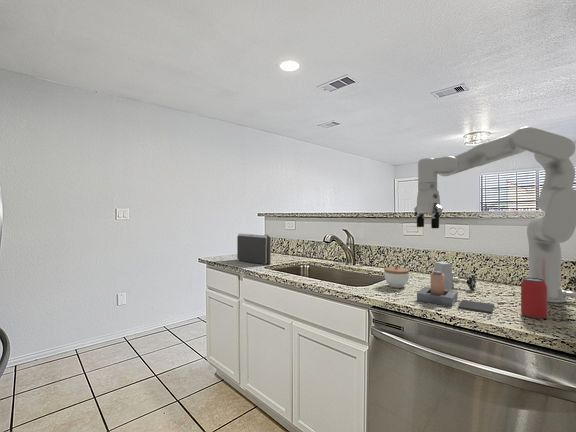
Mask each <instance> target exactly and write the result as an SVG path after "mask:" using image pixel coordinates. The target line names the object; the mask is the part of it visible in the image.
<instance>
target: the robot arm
mask: <svg viewBox="0 0 576 432" xmlns="http://www.w3.org/2000/svg"><path fill="white" fill-rule="evenodd" d="M575 151H576V144H575V142H574V141H573V140H572V139H570V138H568V137H566V136H563V135H560V134H556V133H553V132H549V131H546V130H543V129H540V128H536V127H532V126H524V127H523V126H522V127H520V128H518V129H516V130H514V132H511V133H508V134H506V135H503V136H499V137H497V138H495V139H491V140H487V141H485V142H482V143H479V144H477V145H475V146H473V147H472V148H470V149H468V150H467V151H464V152H462V153H460V154H457V155H454V156H452V155H447V156H442V157H426V158H421V159H419V160H418V163H417V196H416V197H417V198H416V206H415V207H414V208H413V210H414V215H415V218H416V228H424V227H425V218H424V216H425V215H430V216H431V221H430V223H431V225H430V227H431V229H439V228H440V218H441V216H442V212H443V209H444V207H442V206H441V199H440V198H441V197H440V192H439V190H438V175H440V176H441V177H449V176H452V175H455V174H459V173H461V172H465V171H468V170H470V169H475V168H478V167H482V166H484V165H488V164H491V163H493V162H496V161H499V160H503V159H506V158H509V157H513V156H516V155H519V154H521V153H523V152H530V153H531V154H533V156H534V159H535V161H536V162H537V163H538V164H540V166H541V167H542V168H543V170H544V174H545V176H544V182H543V184H542V187H541V189H540V190H541V191H540V194H539V197H538V200H537V206H538V208H539V209H540V210H541V211H542V212H544V213H545V214H544V216H542V215H541V216H537V217H535V218H533V219H532V220H530V222H528V225H527V227H526V235H527V240H528V277H532V278H540V279H543V280H545V283H546V286H547V303H552V304H553V303H554V304H555V303H556V304H557V303H558V304H560V303H561V304H563V303H565V302H567V297H569V298H575V299H576V292H575V291H574V292H573V291H570V290H569V291H568V290H564V289H563V288H562V249H561V244H562V243H565V242H567V241H569V240H570V239H571V238H572V236H573V234H574V233H575V230H576V189H574V188H573V187H574V182H575V178H576V169H575V165H574V164H573V162H572V161H571V159H570V158H571V157H572V156H573V155H574V154H575Z"/></svg>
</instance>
